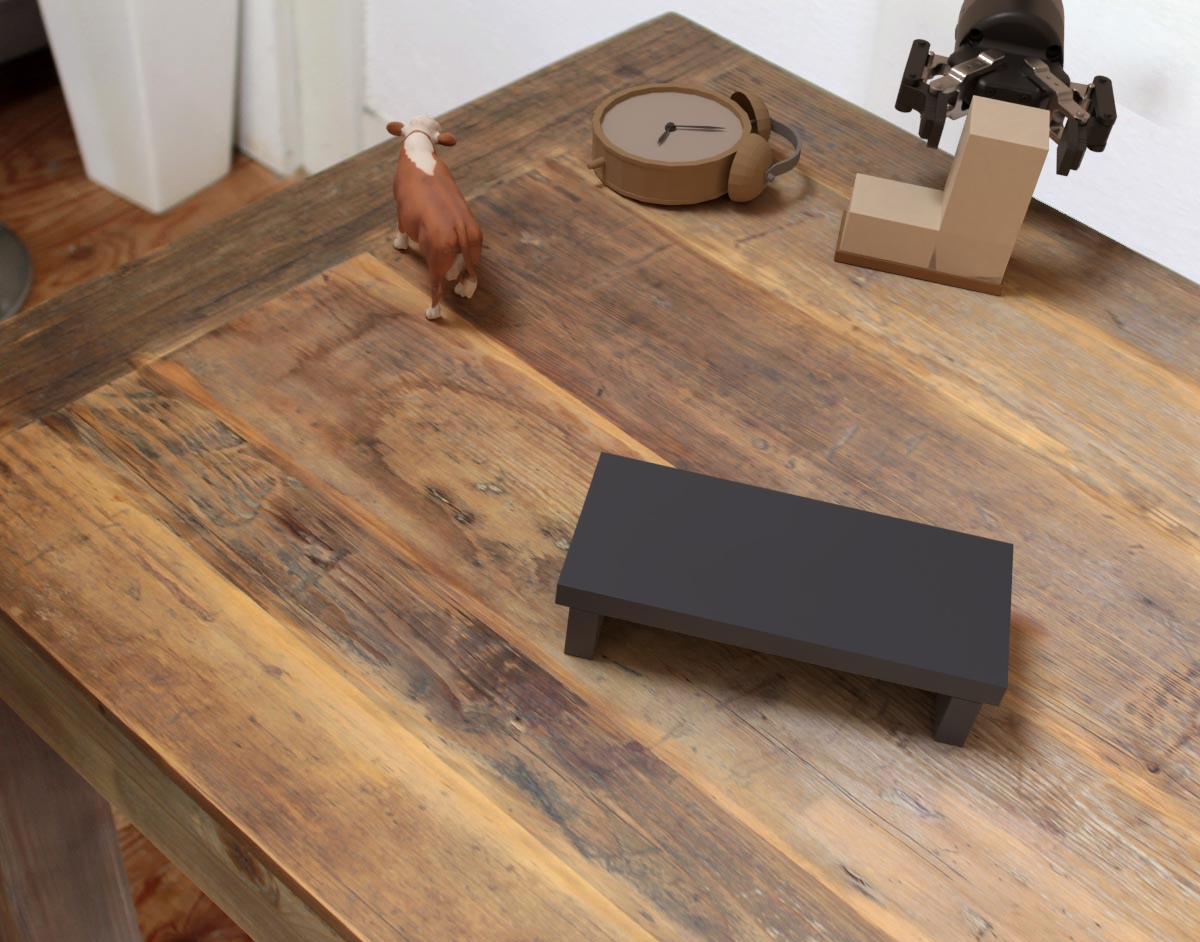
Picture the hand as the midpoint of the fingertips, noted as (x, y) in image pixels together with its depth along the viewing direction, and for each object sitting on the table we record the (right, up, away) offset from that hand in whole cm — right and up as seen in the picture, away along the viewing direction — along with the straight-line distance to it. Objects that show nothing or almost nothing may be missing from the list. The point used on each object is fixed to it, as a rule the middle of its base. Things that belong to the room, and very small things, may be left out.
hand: (1001, 149), depth 96 cm
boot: (-4, -5, +7) cm, 9 cm away
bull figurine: (-37, -8, +1) cm, 38 cm away
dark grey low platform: (-17, -30, -18) cm, 39 cm away
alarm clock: (-19, +2, +12) cm, 23 cm away
